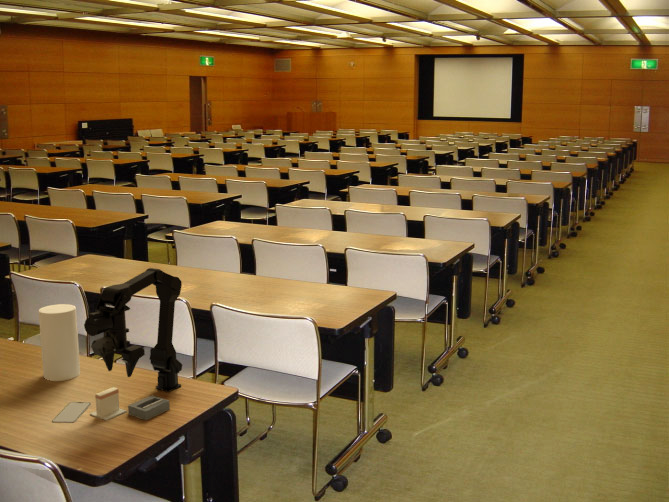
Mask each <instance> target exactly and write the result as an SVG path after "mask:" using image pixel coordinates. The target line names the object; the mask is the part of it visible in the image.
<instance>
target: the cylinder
mask: <svg viewBox="0 0 669 502" xmlns="http://www.w3.org/2000/svg"><path fill="white" fill-rule="evenodd" d="M38 322H39V333H40V336H39V337H40V346H41V347H40V348H41V360H42V373H43V379H44V378H45V379H44V380H46V379H47V380H46V381H49V380H50V382H62V381H69V380H73V379H75V378H77V377H78V376H79V375H80V374H81V364H80V362H81V361H80V349H79V335H78V334H79V333H78V318H77V308H76V306H75V305H74V304H67V303H58V304H51V305H46V306H42V307H41V308H39V309H38Z"/></svg>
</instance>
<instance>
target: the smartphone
mask: <svg viewBox="0 0 669 502" xmlns="http://www.w3.org/2000/svg"><path fill="white" fill-rule="evenodd" d="M91 405H92V402H87V401H83V402H81V401H79V402H77V401H70V402H68V404H66V406H65V407H63V408H62V410H61V411H60V412H59V413H58V414H57V415H56V416H55V417H54V418H53V419H52V421H51V423H54V424H55V423H59V424H62V423H63V424H64V423H65V424H67V423H68V424H71V423H72V424H74V423H75V422H77V421H78V419H79V418H80V417H81V416H82V415H83V414H84V413H85V412H86V411H87V410H88V409H89V407H90V406H91Z"/></svg>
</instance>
